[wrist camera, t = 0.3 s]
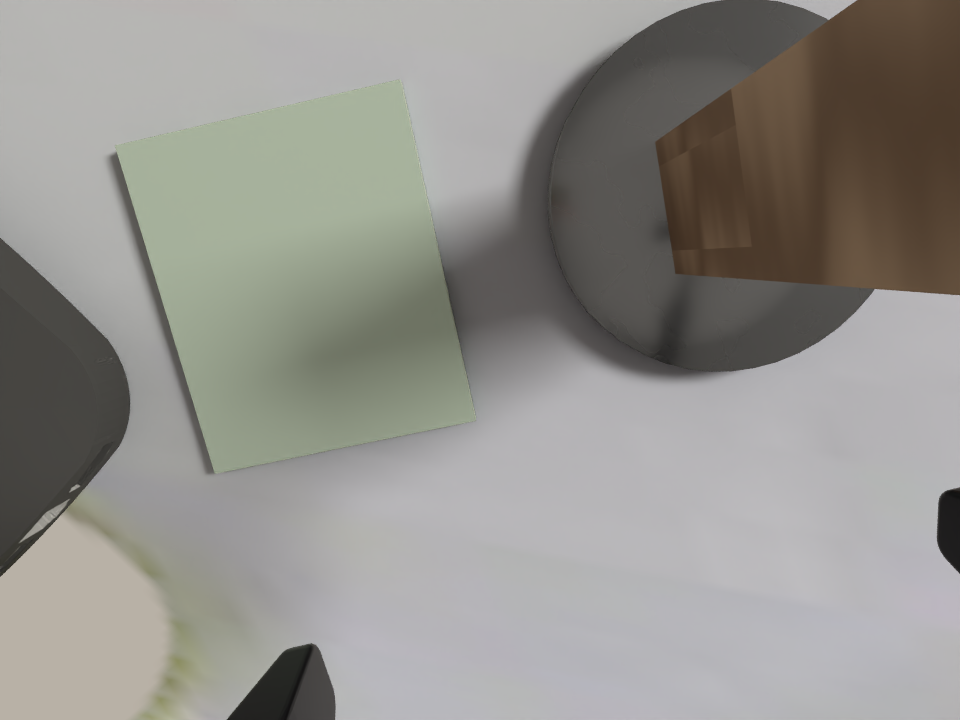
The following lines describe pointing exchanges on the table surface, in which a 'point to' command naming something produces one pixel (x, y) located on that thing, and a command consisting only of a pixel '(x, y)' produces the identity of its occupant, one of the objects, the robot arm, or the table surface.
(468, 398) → the rubber mat
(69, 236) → the table surface
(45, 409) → the media streaming box
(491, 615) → the table surface
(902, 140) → the walnut block
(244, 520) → the table surface
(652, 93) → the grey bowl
